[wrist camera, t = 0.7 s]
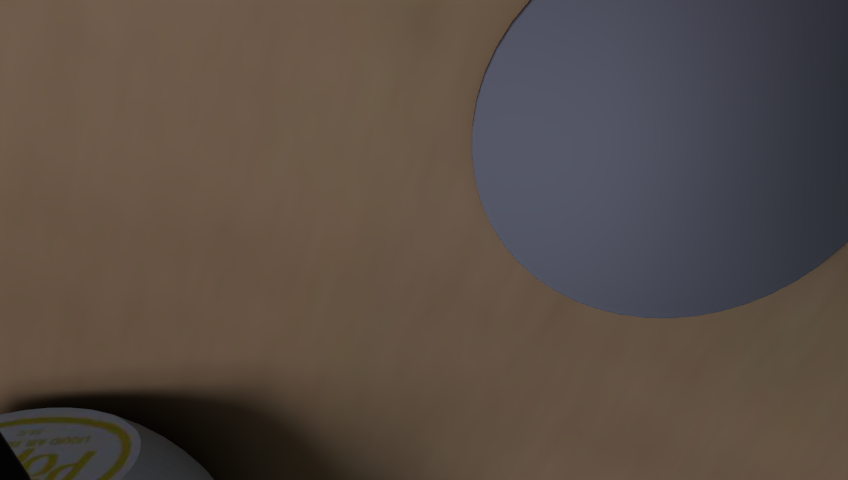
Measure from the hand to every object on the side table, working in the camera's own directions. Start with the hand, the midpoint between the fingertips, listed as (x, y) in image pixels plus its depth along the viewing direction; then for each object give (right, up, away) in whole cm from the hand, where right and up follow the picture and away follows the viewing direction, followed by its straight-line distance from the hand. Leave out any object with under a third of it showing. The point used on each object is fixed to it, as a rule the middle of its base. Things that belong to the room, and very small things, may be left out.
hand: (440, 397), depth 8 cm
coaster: (+6, +4, +12) cm, 14 cm away
